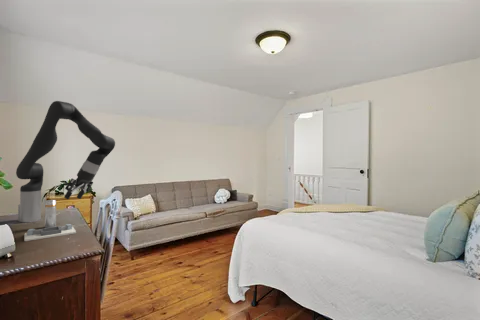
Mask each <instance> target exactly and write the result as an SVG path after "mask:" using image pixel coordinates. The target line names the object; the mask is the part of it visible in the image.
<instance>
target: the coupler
mask: <svg viewBox="0 0 480 320" xmlns="http://www.w3.org/2000/svg"><path fill="white" fill-rule="evenodd" d="M44 201H45V203H44V208H45V209H44V228H50V227H57V200H56V199H48V200H44Z"/></svg>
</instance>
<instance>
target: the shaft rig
mask: <svg viewBox="0 0 480 320" xmlns="http://www.w3.org/2000/svg"><path fill="white" fill-rule="evenodd" d="M75 234H77V230H76V228H75V227H74V226H73V224H71V223H66V224H65V225H59V226H57V225H56V227H50V228H45V227H44V228H39V229H35V228H29V229H27V232H25V233H24V237H23V238H24V242H29V241H35V240H36V241H37V240H42V239H48V238H55V237H62V236H68V235H75Z"/></svg>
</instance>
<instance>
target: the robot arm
mask: <svg viewBox="0 0 480 320" xmlns="http://www.w3.org/2000/svg"><path fill="white" fill-rule="evenodd" d="M60 119H61V120H69V121H72V122H73V123H74V124H76V125H77V128H78V130H79V132H81V134H82V135H84V136H85V137H86V138H87V139H88V140H90V141H91V143H92V144H93V145H95V147H97V148H98V149H97V150H92V151H90V152H89V154H88V155H87V158H86V160H85V161H84V162H83V163H82V165H81V167H80V168H79V171H78V172H77V174H76V176H77V178H76V179H74V178H71V179H69V182H68V183H67V185H66V186H65V188H64V190H66V193H65V195H64V198H65V199H66V200H70V198H71V196H72V195H73V192H75V191H77V190H79V189H80V191H78V194H77V195H76V198H77V199H78V200H81V199H82V198H83V196H84V194H86V193H88V192H89V191H90V189H91V188H92V186H93V184H94V182H93V180H94V178H95V176H96V175H97V174H98V171H99V169H100V167H101V166H102V164H103V162H104V160H105V159H106V158H107V157H108V155H110V153H111V152H112V151H113V150H114V148H115V147H116V141H115V139H114V138H112V137H110V136H108V135H106V134H103V133H102V131H101V130H100V128H98V127H97V126H96V125H94V124H93V123H92V122H90V120H88V119H87V118H86V116H85V115H83V114H82V113H81V111H79V109H78V108H77V107H76V106H75V105H74V104H72V103H69V102H66V101H61V100H54V101H53V102H51V104H50V105H49V108H48V110H47V112H46V115H45V118H44V120H43V122H42V125H41V127H40V128H39V131H38V132H37V134H36V136H35V138H34V139H33V141H32V143H31V145H30V147H29V149H28V151H27V153H26V154H25V155H24V157H23V158H22V160H21V161H20V162H19V164H18V166H17V168H16V170H15V171H16V172H15V176H16V178H18V179H19V180H29V182H27V183H26V184H23V185H21V186H20V190H19V191H20V195H19V200H20V201H19V204H18V205H17V206H18V209H17V210H18V213H17V214H18V215H17V218H18V219H17V222H19V223H30V222H31V223H32V222H37V221H41V219H42V218H41V217H42V186H43V182H44V166H43V165H42V164H41V163H40V162H37V161H38V160H40V159H41V158H43V157H45V156H46V155H47V154H49V153H50V152H51V151H52V150H53V149H54V147H55V145H56V143H57V141H58V133H57V130H56V127H57V124H58V122H59V121H60Z"/></svg>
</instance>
